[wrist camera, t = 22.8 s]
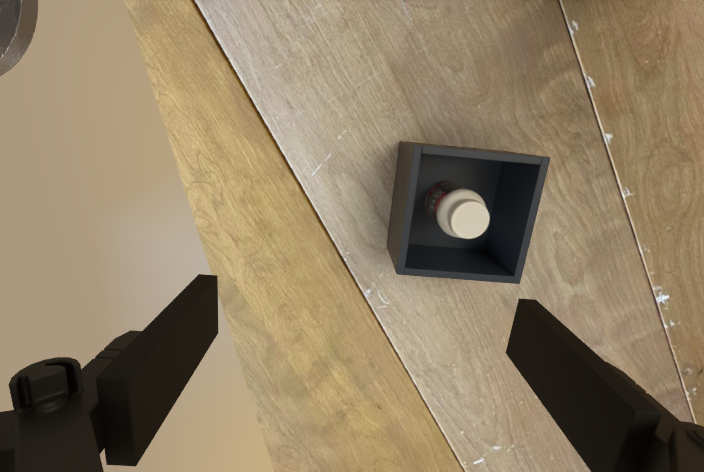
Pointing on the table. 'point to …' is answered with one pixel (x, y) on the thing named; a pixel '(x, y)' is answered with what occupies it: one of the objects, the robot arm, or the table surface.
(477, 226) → the pill bottle
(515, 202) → the waste bin
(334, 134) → the table surface
